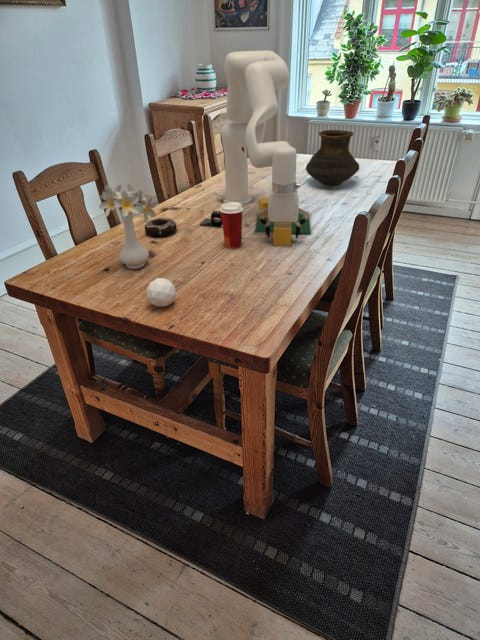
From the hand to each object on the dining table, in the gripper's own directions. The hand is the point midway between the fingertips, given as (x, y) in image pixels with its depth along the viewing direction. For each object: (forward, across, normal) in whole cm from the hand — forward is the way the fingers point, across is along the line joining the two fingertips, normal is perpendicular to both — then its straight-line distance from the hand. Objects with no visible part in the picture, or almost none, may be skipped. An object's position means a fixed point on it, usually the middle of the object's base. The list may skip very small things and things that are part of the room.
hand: (282, 236), depth 152 cm
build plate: (+2, +25, -17) cm, 30 cm away
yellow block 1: (+1, +6, -25) cm, 26 cm away
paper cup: (+2, +17, +3) cm, 17 cm away
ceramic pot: (+2, -22, -69) cm, 73 cm away
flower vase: (+2, +46, +19) cm, 50 cm away
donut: (+2, +45, -8) cm, 46 cm away
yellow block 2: (+2, 0, 0) cm, 2 cm away
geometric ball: (+2, +32, +43) cm, 54 cm away
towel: (+2, 0, -18) cm, 18 cm away
